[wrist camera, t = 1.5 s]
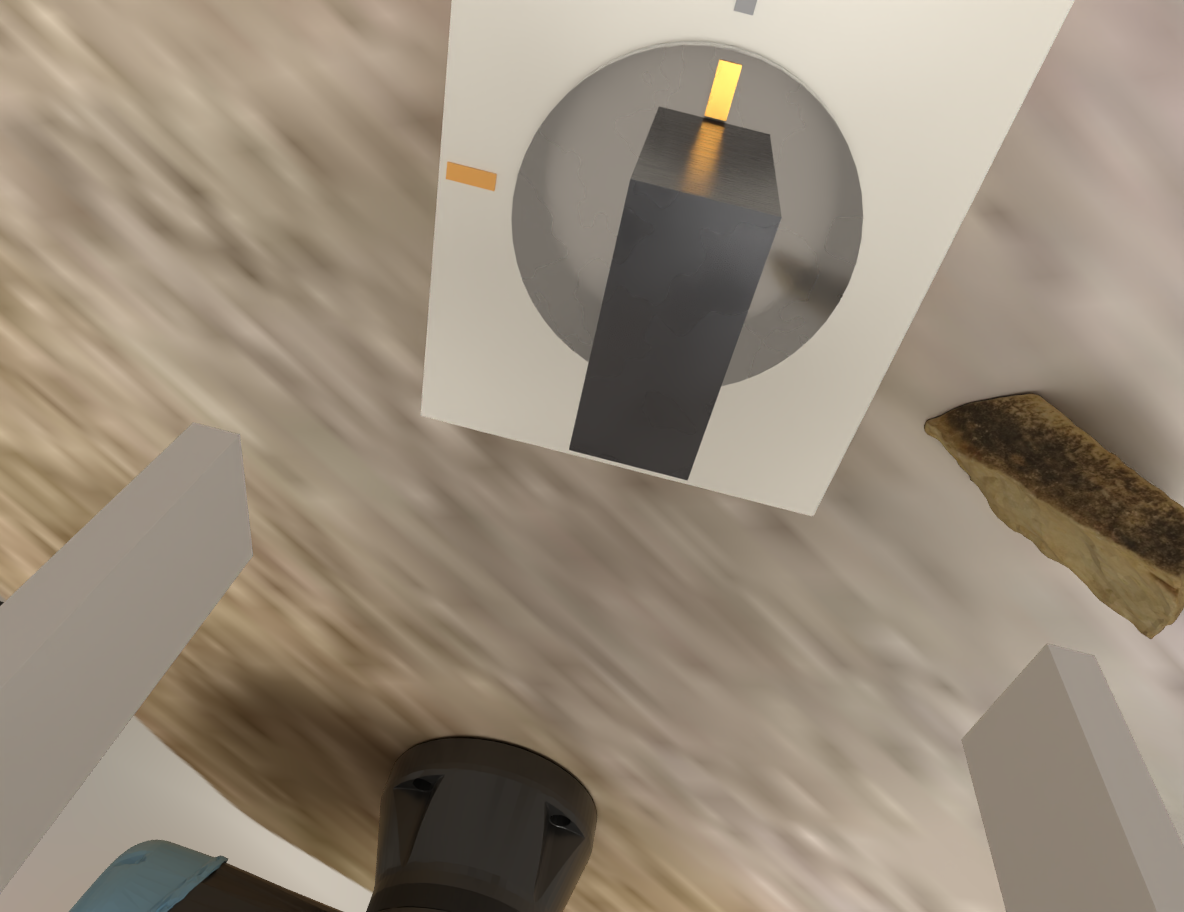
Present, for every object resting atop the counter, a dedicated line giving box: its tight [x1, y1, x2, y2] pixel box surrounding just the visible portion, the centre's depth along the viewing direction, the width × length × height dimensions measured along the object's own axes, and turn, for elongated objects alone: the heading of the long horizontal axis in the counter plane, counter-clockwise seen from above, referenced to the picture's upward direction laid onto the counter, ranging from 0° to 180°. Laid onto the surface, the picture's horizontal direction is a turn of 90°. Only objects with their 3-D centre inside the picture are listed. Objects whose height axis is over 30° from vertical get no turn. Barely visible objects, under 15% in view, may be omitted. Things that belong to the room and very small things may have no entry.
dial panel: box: [421, 0, 1074, 517], centre depth 28 cm, size 22×18×2 cm
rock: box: [924, 394, 1184, 639], centre depth 30 cm, size 11×9×10 cm
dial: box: [511, 41, 863, 481], centre depth 24 cm, size 12×12×9 cm
